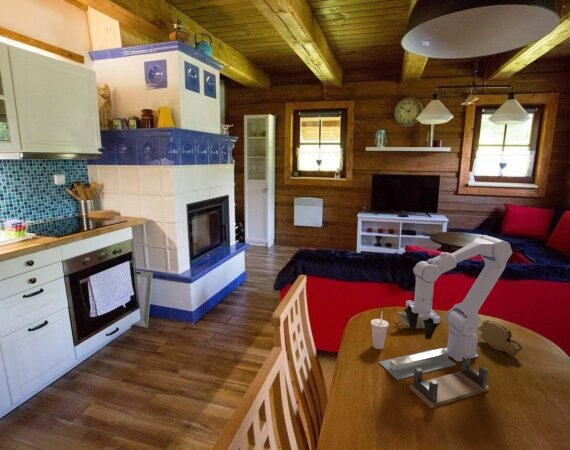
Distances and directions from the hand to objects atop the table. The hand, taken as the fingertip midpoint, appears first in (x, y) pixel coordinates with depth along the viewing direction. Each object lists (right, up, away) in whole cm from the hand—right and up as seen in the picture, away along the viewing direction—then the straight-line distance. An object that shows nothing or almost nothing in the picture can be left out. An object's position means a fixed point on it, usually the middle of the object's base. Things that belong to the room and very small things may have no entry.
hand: (420, 333), depth 121 cm
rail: (-1, -10, -3) cm, 10 cm away
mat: (-2, -10, -2) cm, 10 cm away
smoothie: (-12, -8, +9) cm, 17 cm away
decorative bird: (+7, -5, +23) cm, 24 cm away
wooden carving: (+32, -8, +8) cm, 34 cm away
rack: (+3, -13, -15) cm, 20 cm away
